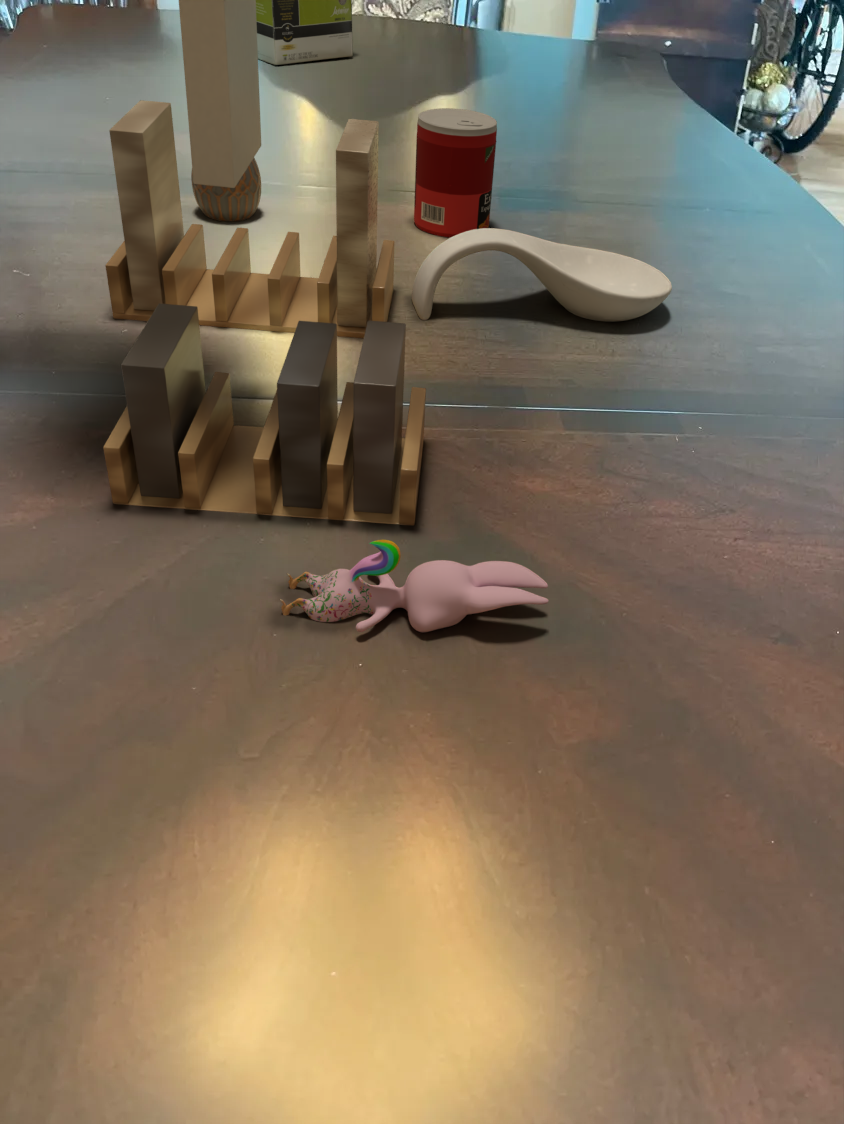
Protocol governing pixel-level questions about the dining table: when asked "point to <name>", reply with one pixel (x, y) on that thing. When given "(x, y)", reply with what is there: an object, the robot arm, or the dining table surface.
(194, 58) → the white book
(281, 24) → the tea box
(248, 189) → the vase
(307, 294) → the wooden slotted rack
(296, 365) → the brown wooden book rack
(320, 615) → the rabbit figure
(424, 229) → the canned food
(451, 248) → the spoon rest
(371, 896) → the dining table surface
